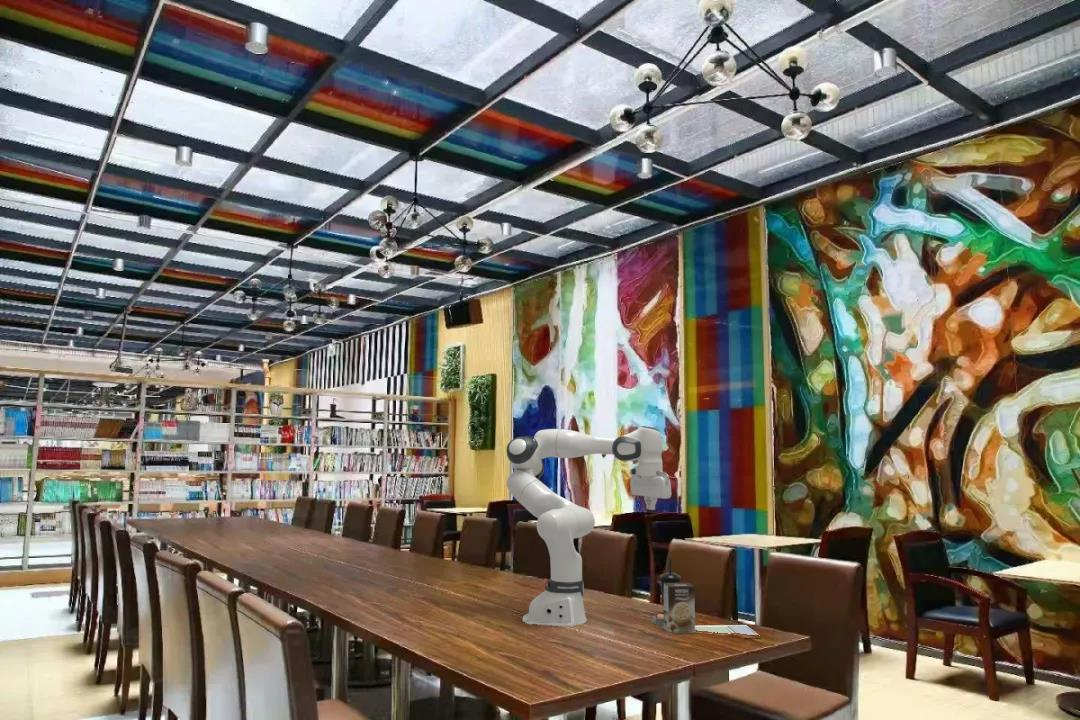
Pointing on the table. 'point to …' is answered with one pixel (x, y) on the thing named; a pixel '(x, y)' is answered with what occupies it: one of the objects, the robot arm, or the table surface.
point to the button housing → (657, 621)
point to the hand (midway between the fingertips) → (650, 509)
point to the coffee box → (679, 607)
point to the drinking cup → (669, 578)
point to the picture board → (726, 629)
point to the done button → (660, 616)
